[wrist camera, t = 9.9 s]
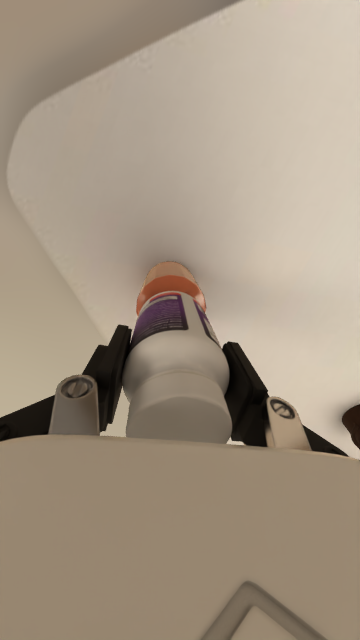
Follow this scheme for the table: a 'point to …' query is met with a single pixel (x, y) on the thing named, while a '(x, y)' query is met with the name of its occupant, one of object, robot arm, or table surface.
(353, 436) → the coffee mug
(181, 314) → the pill bottle
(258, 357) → the table surface
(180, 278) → the orange hollow cylinder
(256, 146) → the table surface
